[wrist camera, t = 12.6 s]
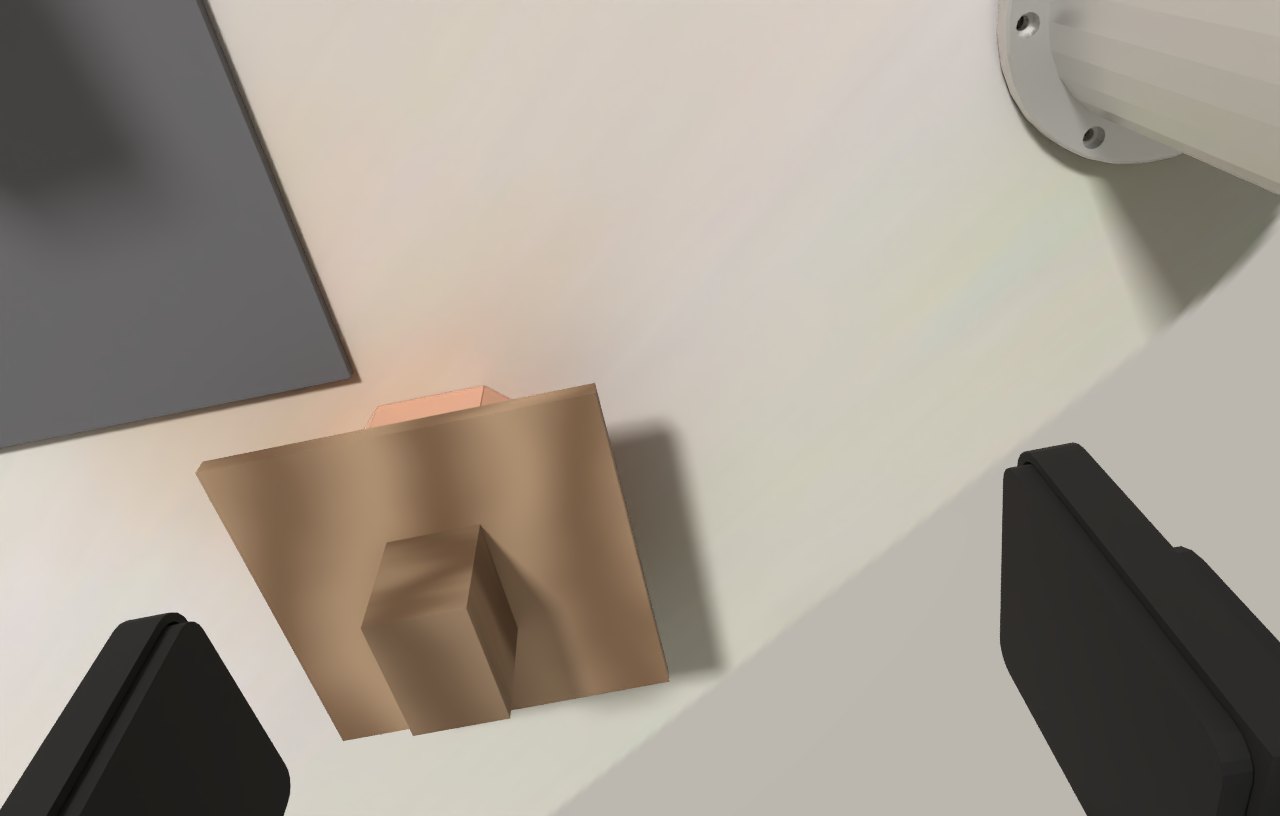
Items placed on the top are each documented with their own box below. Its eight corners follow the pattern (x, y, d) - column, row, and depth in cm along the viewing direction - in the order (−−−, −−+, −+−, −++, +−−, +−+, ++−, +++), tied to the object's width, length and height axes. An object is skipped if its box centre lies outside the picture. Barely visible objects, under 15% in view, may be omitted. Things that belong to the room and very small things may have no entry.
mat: (144, -141, 30) (137, -142, 29) (353, 372, 40) (350, 378, 39) (-406, -14, 31) (-420, -13, 30) (-66, 456, 41) (-74, 462, 40)
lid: (595, 383, 35) (597, 466, 30) (667, 668, 43) (679, 771, 38) (202, 461, 35) (140, 555, 30) (347, 727, 43) (316, 836, 38)
